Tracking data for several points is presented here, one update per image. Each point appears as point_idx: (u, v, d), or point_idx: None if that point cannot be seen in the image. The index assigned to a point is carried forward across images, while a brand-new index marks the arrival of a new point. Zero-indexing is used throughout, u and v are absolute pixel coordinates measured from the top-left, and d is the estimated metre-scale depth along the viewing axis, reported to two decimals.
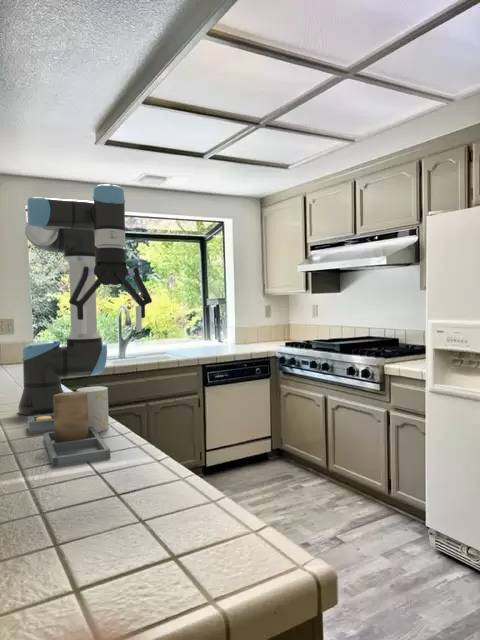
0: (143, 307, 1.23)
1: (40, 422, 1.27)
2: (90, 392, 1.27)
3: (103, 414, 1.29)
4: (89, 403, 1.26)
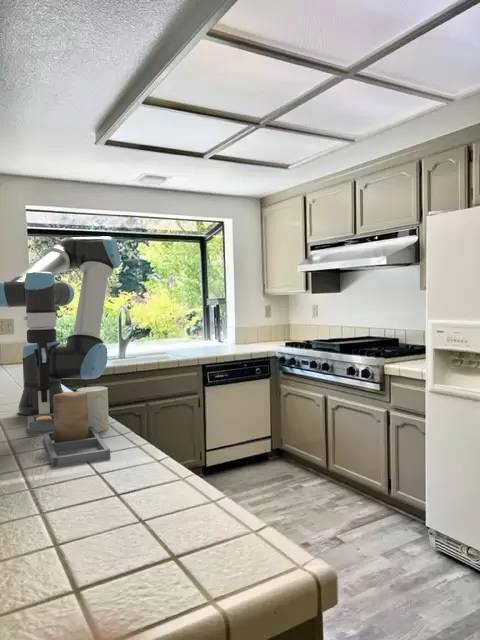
0: (41, 392, 1.30)
1: (40, 422, 1.27)
2: (90, 392, 1.27)
3: (103, 414, 1.29)
4: (89, 403, 1.26)
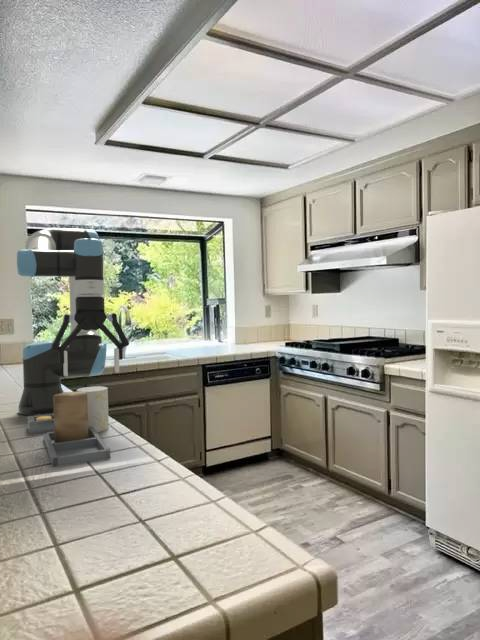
0: (121, 349, 1.33)
1: (40, 422, 1.27)
2: (90, 392, 1.27)
3: (103, 414, 1.29)
4: (89, 403, 1.26)
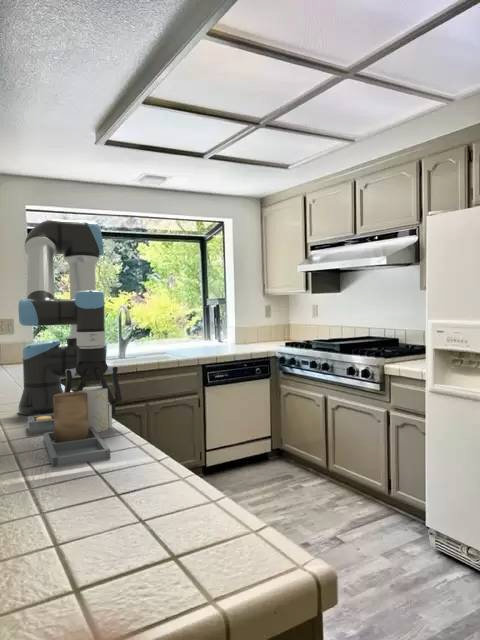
0: (113, 405, 1.32)
1: (40, 422, 1.27)
2: (90, 392, 1.26)
3: (103, 414, 1.29)
4: (89, 403, 1.26)
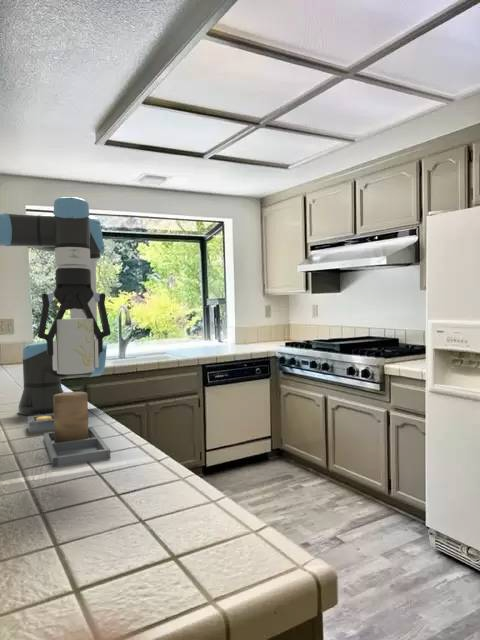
0: (100, 340, 1.10)
1: (40, 422, 1.27)
2: (71, 320, 1.03)
3: (88, 348, 1.06)
4: (70, 333, 1.03)
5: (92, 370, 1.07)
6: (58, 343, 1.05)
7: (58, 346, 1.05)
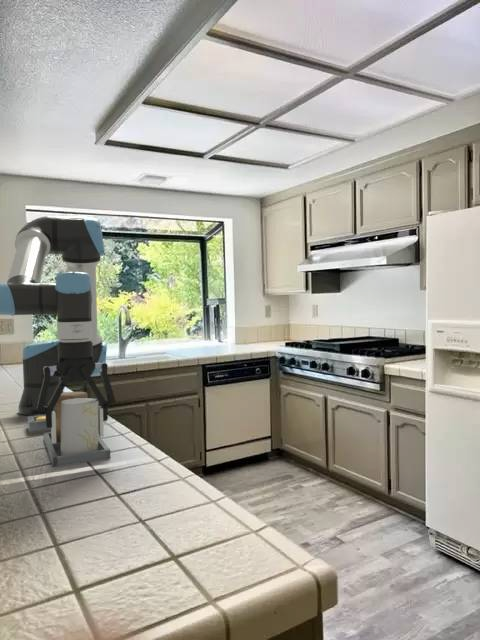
0: (105, 409, 1.10)
1: (40, 422, 1.27)
2: (77, 405, 1.05)
3: (92, 432, 1.07)
4: (75, 418, 1.04)
5: None
6: (63, 427, 1.05)
7: (63, 429, 1.06)
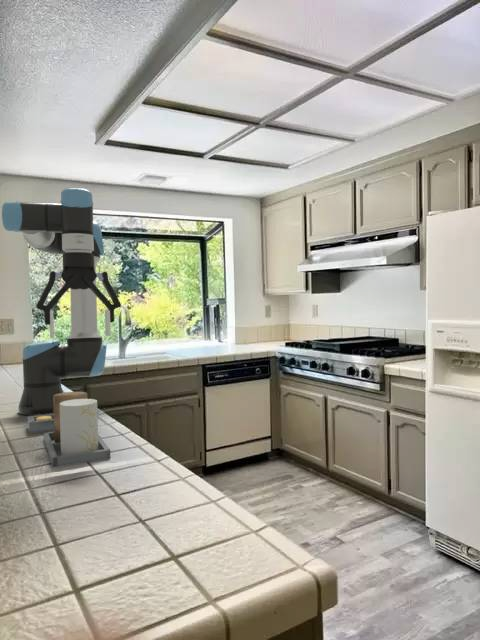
0: (112, 311, 1.23)
1: (40, 422, 1.27)
2: (75, 406, 1.04)
3: (92, 433, 1.06)
4: (74, 419, 1.04)
5: None
6: (62, 428, 1.05)
7: (62, 431, 1.06)
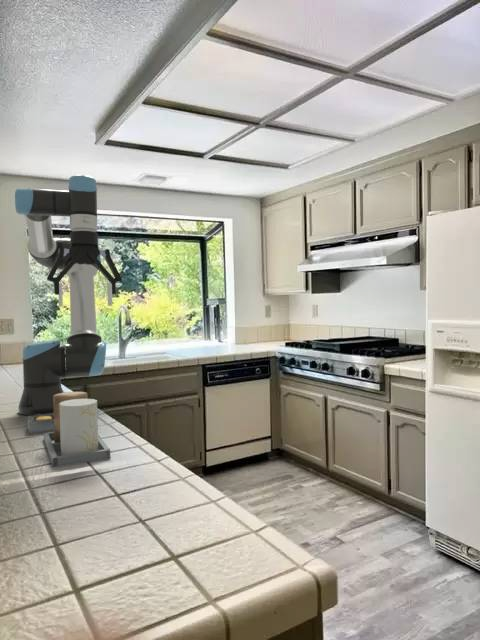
0: (114, 284, 1.39)
1: (40, 422, 1.27)
2: (75, 407, 1.04)
3: (91, 433, 1.06)
4: (73, 420, 1.04)
5: None
6: (62, 428, 1.05)
7: (62, 431, 1.05)
